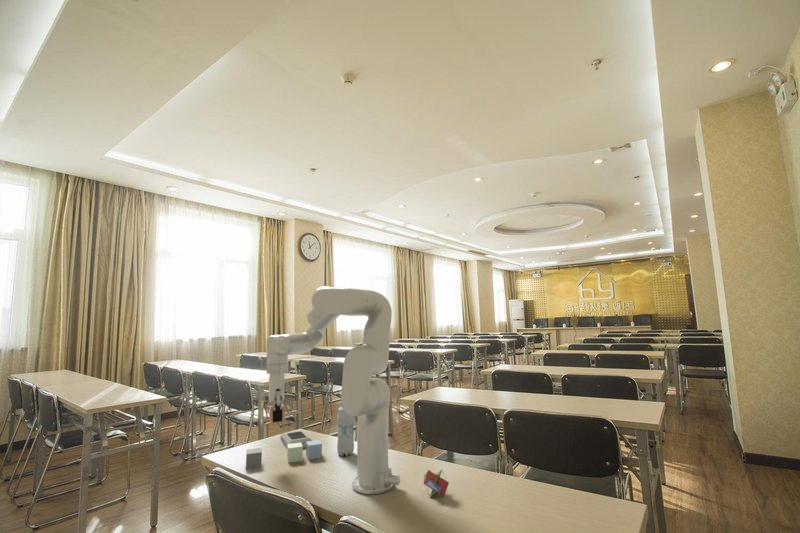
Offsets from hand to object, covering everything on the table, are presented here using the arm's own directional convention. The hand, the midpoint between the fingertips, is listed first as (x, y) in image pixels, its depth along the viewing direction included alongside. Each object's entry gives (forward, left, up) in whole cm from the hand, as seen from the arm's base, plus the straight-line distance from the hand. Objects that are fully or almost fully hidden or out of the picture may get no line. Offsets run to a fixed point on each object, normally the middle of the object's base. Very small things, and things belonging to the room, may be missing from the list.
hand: (276, 419), depth 135 cm
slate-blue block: (-9, -10, -15) cm, 20 cm away
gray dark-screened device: (+7, -20, -16) cm, 26 cm away
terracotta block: (0, 0, -1) cm, 1 cm away
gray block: (+6, +5, -15) cm, 17 cm away
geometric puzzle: (-61, +3, -15) cm, 63 cm away
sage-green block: (-4, -5, -15) cm, 16 cm away
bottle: (-19, -16, -15) cm, 29 cm away
